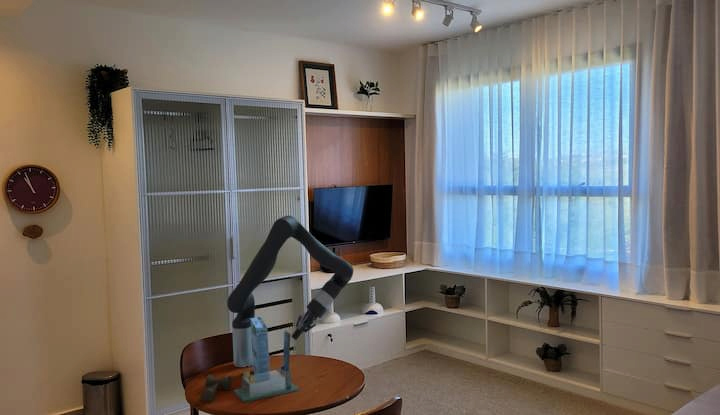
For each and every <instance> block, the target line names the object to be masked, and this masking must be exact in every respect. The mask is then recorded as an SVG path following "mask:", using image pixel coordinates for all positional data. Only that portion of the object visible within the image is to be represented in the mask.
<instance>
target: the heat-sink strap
mask: <svg viewBox="0 0 720 415" xmlns="http://www.w3.org/2000/svg"><path fill="white" fill-rule="evenodd" d="M283 332H284V335H283V360H282V366H283V370H284V372H285V373H286V371H287V370H290V355H291V354H290V353H291V352H290V351H291V333H290V332H288V331H286V330H285V331H283Z"/></svg>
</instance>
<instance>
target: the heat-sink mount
mask: <svg viewBox="0 0 720 415" xmlns="http://www.w3.org/2000/svg"><path fill="white" fill-rule="evenodd" d="M250 372H251V371H250V370H249V369H246V370H243V374H242V375H243V376H241V387H240V388H236V389H233V394H235V395H236V396H237V397H238V399H239V400H241V402H243V403H244V404H245V403H249V402H254V401H258V400H262V399H267V398H271V397H272V398H273V397H275V396H280V395H284V394H289V393H293V392H298V391H300V388H299V387H298V386H297V385H295V384H294V383H293V382H292V375H291V370H290V369H289V370H287V371H286V372H285V371H284V370H283V365H279V371H278V370H276V369H275V370H270V371H269V372H264V373H259V374H255V373H254V374H250Z"/></svg>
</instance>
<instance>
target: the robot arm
mask: <svg viewBox="0 0 720 415" xmlns="http://www.w3.org/2000/svg"><path fill="white" fill-rule="evenodd" d="M290 238H292V239H294V240H295V241H298V242H299V243H300V244H301V245H302V246H303V247H304V249H306V251H307V253H308V254H309V256H310V257H312V259H314V260H315V261H316V262H317V263H318V264H319V265H321V266H322V267H323V268H325V269H329V270H330V271H332V272H333V275H332V276H331V278H330V279H328V280H327V281H326V282H325V284H323V285H322V287H321V288H320V290H319V291H318V292H317V293H316V294H314V297H313V298H312V299H311V300H310V301H309V303H308V304H307V306H306V309H307V311H305V313H303V315H301V314H300V315H299V316H298V318H297V321H296V324H295V327H296V329H295V330H294V332H293V333H292V334H291V335H290V338H292V340H294V341H296V340H298V338H299V337H300V336H301V335H302V334H303V333H307V332H309V331H310V330H312V329H313V328H315V327H316V326H317V324H316V323H315V322H316V321H317V319H321V318H323V317H324V315H325V313H326V312H328V310H329V308H330V307H331V306H332V304H333V302H334V301H335V299H336V298H337V297H338V295H340V293H341V291H342V290H344V288H345V287H346V285H348V283H349V282H350V281H351V280H352V278H353V276H354V275H353V274H354V267H353V265H352V264H351V263H349V262H348V261H347V260H345V259H344V258H342V257H340V256H338V255H336V254H335V253H334V252H333V251H332V250H330V249H329V248H328V247H326V246H325V244H323V243H321V242H320V241H319V240H318V239H316V237H315V236H314V235H312V234H311V232H309V230H307V229H306V227H305V226H304V225H303V224H302V223H301V222H300V221H299V220H298V219H297V218H296V217H294V216H292V215H283V216H281V217H279V218H277V219H276V220H275V221H274V223H273V224H272V226H271V228H270V231H269V233H268V235H267V236H266V239H265V241H264V242H263V244H262V246H260V249H259V250H258V251H257V253H256V254H255V256H254V258H253V259H252V261H251V262H250V264H249V266H248V268H247V270H246V271H245V273H244V274H243V276H242V278H241V280H240V281H239V283H238V284H237V285H236V286H235V288H234V289H233V290H232V292H231V293H230V294H229V296H228V298H227V301H226V304H227V308H228V310H229V311H230V313H234V314H236V316H235V318H234V319H233V320H232V321H231V327H232V330H231V331H232V348H233V349H232V350H233V351H232V352H233V365H234V367H237V368H247V367H246V366H248V367H251V365H252V366H253V356H252V339H251V322H250V318H256V316H255V314H256V311H255V310H256V309H255V306H256V305H255V303H256V302H255V297H254V294H253V292H254V291H255V290H256V288H257V287H258V286H260V285H261V284H262V283H263V282H264V281H265V280H266V279H268V276H269V275H270V274H271V272H272V271H273V269H274V267H275V265H276V262H277V259H278V256H279V251H280V250H281V248H282V247H283V246H284V244H285V243H286V241H288V240H289V239H290Z"/></svg>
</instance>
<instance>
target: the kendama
mask: <svg viewBox="0 0 720 415" xmlns="http://www.w3.org/2000/svg"><path fill="white" fill-rule="evenodd" d="M204 385H205V386H204V387H205V389H203V390H202V391H201V392H200V400H201V401H202V402H203V403H207V402H208V403H212V402H213V400H214V399H215V397H216V396H217V393H218V391H217V390H218V388H222V389H224V390H226V391H227V392H228V391H229V392H230V390H231V389H232V386H233V378H232V376H231V375H227V376H222V377H221V378H218V377H217V378H216V377H214V376H213V375H211V374H208V375H206V378H205V382H204Z"/></svg>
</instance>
